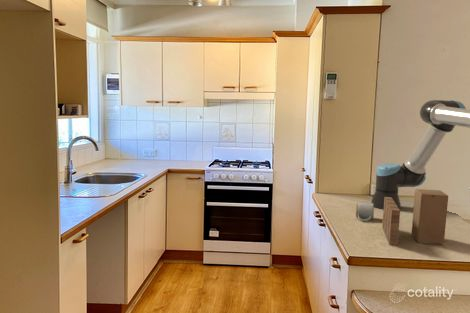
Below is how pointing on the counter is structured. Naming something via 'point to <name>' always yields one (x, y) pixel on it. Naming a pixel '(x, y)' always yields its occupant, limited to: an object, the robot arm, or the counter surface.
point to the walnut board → (391, 221)
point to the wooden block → (429, 216)
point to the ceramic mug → (365, 211)
